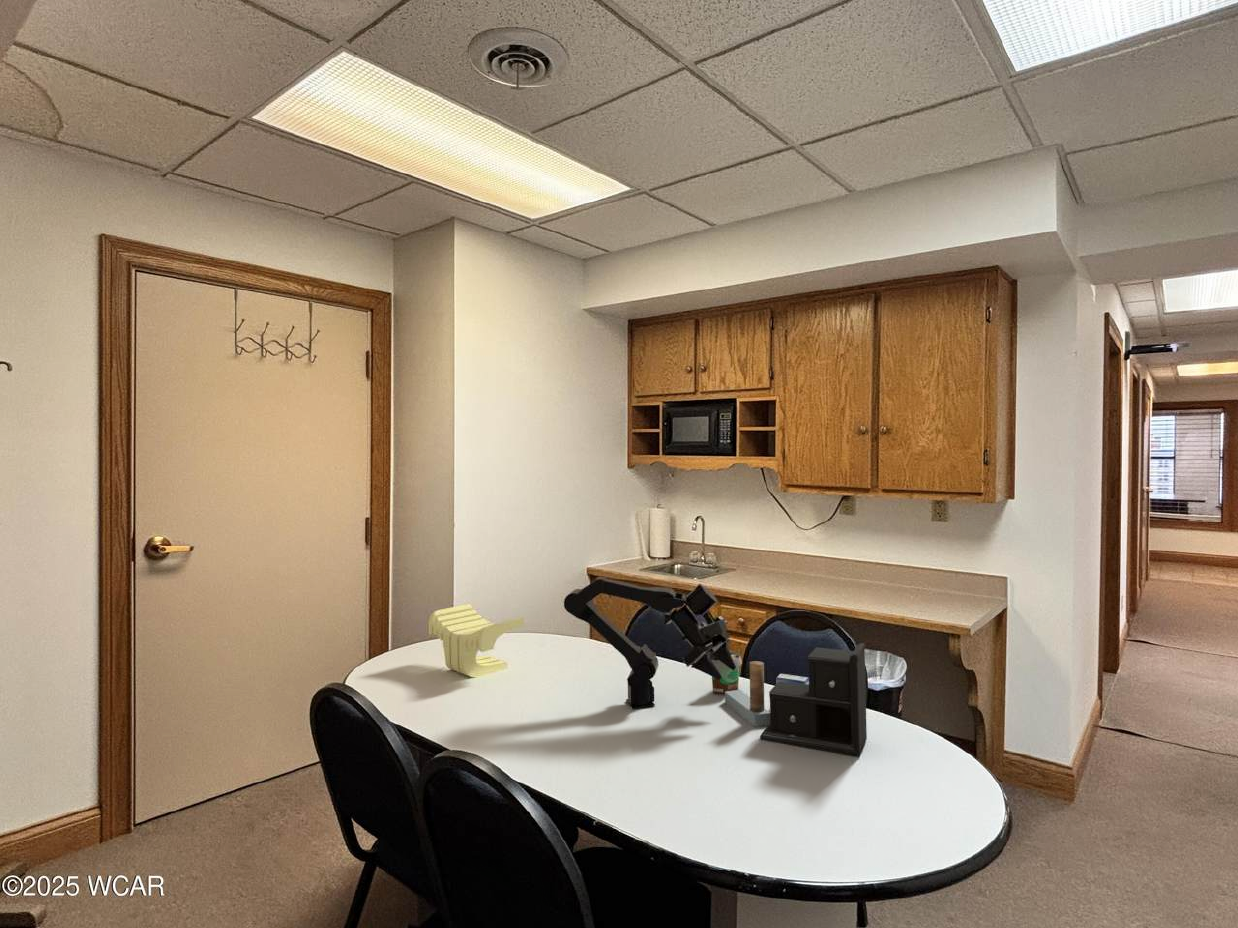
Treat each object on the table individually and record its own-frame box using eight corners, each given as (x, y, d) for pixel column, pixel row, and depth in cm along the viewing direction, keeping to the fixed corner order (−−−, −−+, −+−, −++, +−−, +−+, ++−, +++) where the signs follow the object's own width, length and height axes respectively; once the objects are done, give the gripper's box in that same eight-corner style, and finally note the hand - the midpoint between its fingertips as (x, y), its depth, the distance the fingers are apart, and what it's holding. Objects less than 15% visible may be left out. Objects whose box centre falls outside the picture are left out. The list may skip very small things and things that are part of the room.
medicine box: (776, 709, 191) (775, 677, 191) (780, 703, 195) (780, 672, 195) (805, 714, 187) (805, 681, 187) (809, 708, 191) (809, 676, 191)
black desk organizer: (759, 740, 171) (758, 643, 171) (771, 724, 181) (770, 632, 180) (860, 758, 160) (859, 655, 160) (867, 740, 170) (866, 643, 169)
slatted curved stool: (429, 665, 234) (428, 611, 233) (470, 655, 245) (469, 603, 245) (482, 686, 213) (481, 627, 212) (524, 673, 224) (523, 617, 224)
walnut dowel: (754, 712, 180) (753, 665, 180) (747, 707, 184) (747, 661, 184) (766, 711, 181) (766, 664, 181) (760, 706, 185) (759, 660, 185)
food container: (729, 699, 199) (729, 663, 199) (710, 694, 202) (709, 660, 202) (749, 687, 209) (749, 653, 208) (731, 683, 212) (730, 649, 212)
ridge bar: (754, 726, 179) (754, 714, 179) (725, 702, 196) (724, 691, 196) (770, 724, 180) (770, 712, 180) (740, 700, 198) (739, 689, 198)
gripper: (693, 615, 181) (733, 665, 176) (723, 601, 197) (761, 646, 191) (666, 641, 186) (705, 691, 180) (697, 626, 201) (734, 671, 196)
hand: (727, 673), depth 187 cm, fingers open, 9 cm apart
